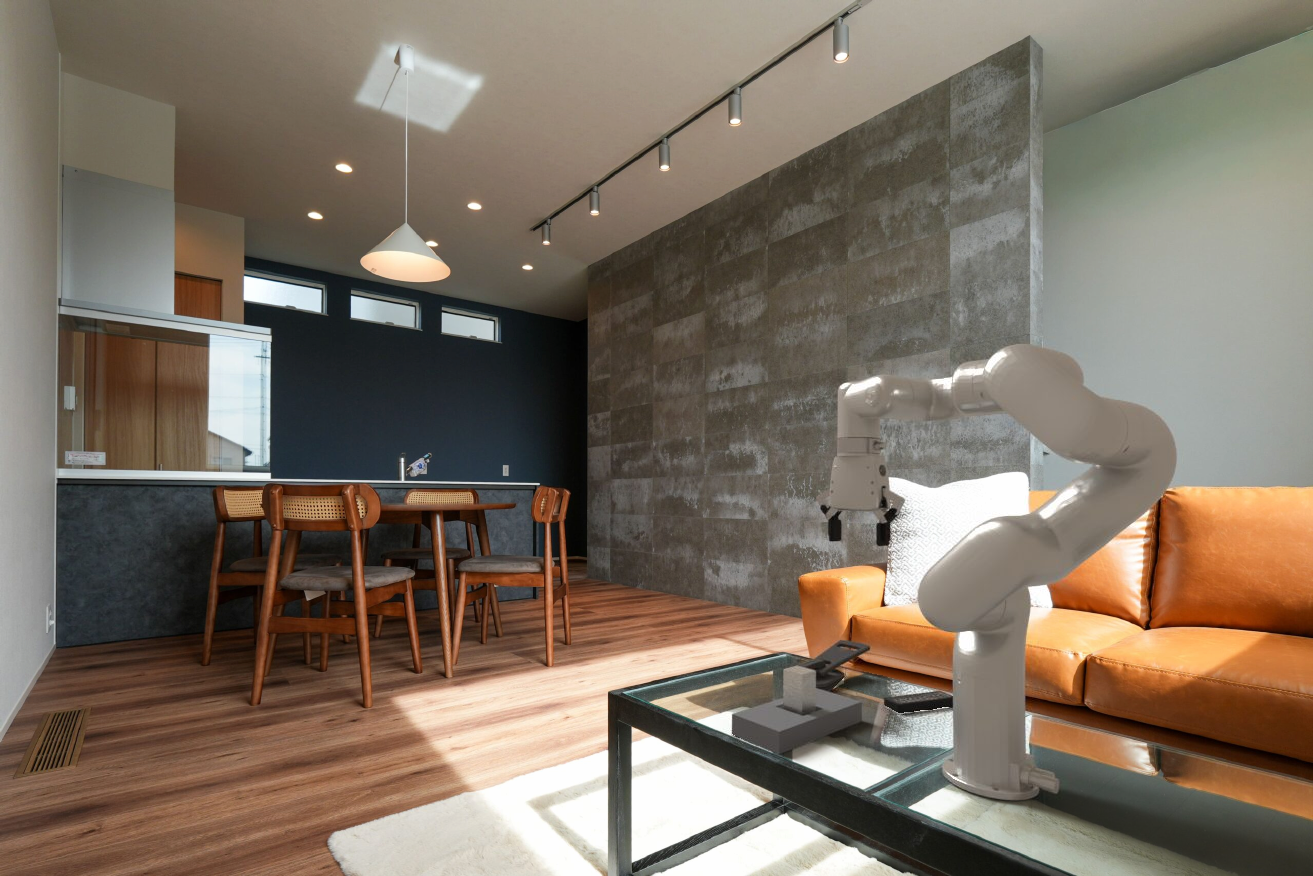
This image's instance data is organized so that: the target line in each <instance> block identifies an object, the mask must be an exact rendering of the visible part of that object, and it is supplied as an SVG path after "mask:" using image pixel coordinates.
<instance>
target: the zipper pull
mask: <svg viewBox="0 0 1313 876" xmlns="http://www.w3.org/2000/svg"><path fill="white" fill-rule="evenodd" d="M870 650H871V646H870V645H869V644H865V643H862V642H857V641H851V640H846V639H844V640H843V639H840V640H837V641H836V642H835V643H834V644H833V645H831V646H830V647H828V648H827V649H826V650H824V651H823V652H822V653H820V654H819V655H817V656H816V657H814V658H813V659H809V660H807V661H803V662H800V663H798V664H797V665H796V666H801V667H804V668H808V669H812V670H815V671H816V688H818V689H821V690H824V691H828V692H831V690H832V689H833V688H834V687H835V686H836V685H837V684H838V683H839V682H840V681H841V680H842V679H843V678H844V677H845V676H846V675H845V672H844V671H841V670H839V669H837V668H839V667H841V666H843V665H844V664H847V663H848V662H850V661H852V660H854V659H856V658H857V657H859V656H861V655H863V654H865V653H867V652H869V651H870ZM833 690H834V689H833ZM833 690H832V691H833Z"/></svg>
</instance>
